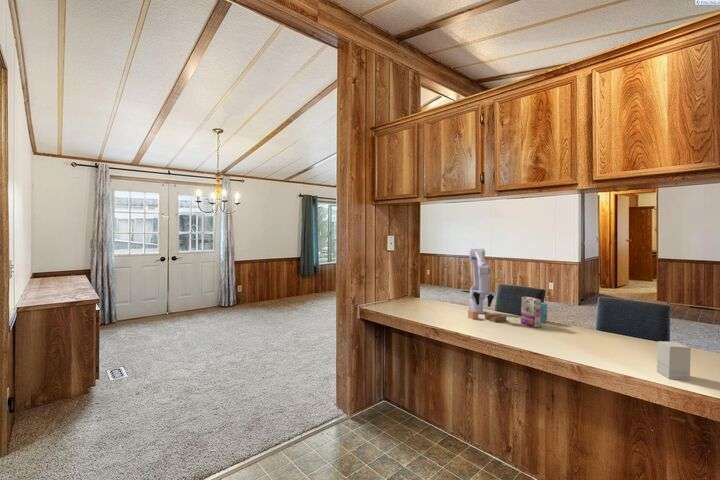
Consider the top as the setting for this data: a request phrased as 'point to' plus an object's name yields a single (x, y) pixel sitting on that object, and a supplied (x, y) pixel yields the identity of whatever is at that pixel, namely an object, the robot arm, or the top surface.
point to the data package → (543, 312)
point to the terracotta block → (472, 314)
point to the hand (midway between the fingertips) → (483, 305)
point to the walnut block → (495, 317)
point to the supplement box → (673, 360)
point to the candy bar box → (531, 311)
